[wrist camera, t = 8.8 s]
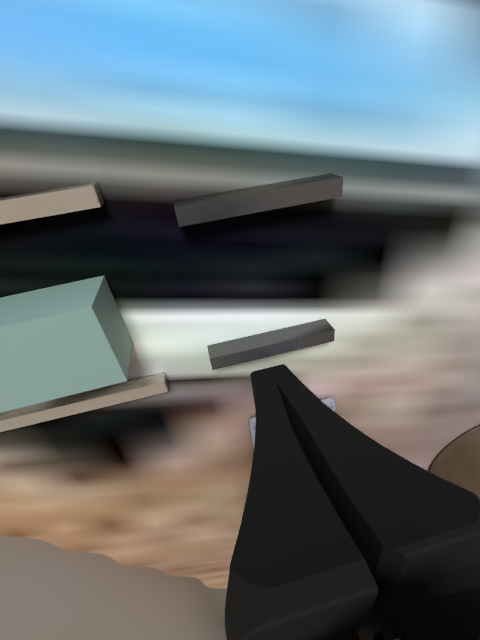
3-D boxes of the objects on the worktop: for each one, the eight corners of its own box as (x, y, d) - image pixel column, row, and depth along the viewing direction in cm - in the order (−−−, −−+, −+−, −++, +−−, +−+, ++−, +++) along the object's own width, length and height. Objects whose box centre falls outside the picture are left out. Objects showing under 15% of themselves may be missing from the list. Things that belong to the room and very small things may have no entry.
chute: (324, 345, 24) (333, 356, 23) (-31, 429, 22) (-43, 447, 20) (331, 143, 17) (344, 144, 15) (-219, 234, 14) (-257, 244, 13)
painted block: (133, 340, 21) (127, 380, 17) (26, 366, 20) (-1, 413, 17) (104, 274, 18) (91, 306, 15) (-20, 300, 17) (-64, 341, 14)
